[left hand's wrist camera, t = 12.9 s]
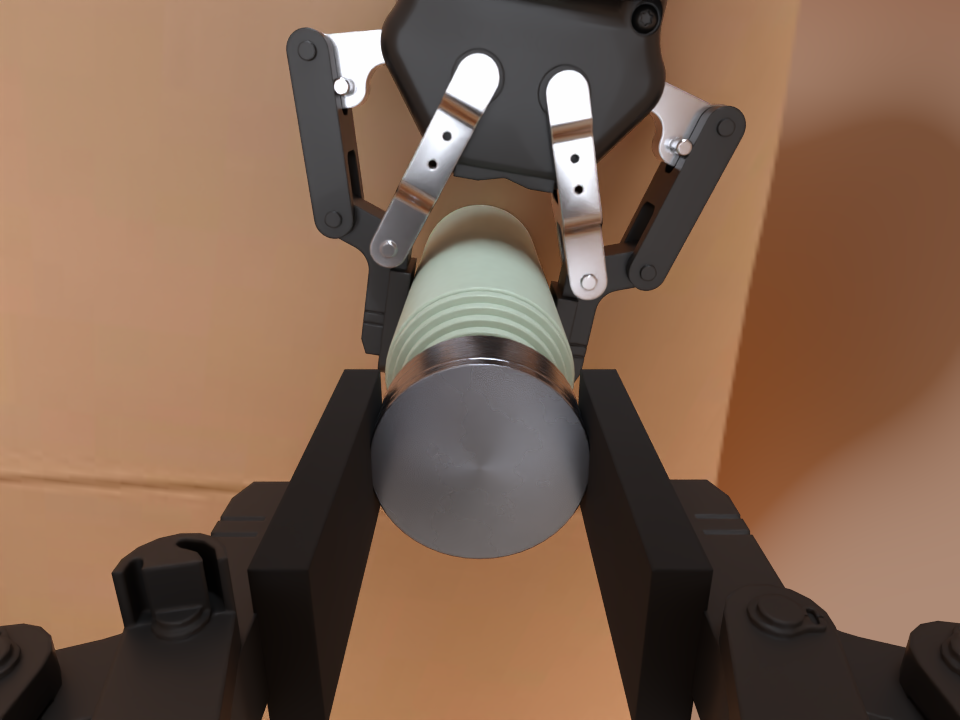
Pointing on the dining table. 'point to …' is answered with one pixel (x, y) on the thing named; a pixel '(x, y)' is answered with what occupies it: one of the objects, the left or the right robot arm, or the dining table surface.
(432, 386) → the cap
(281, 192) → the dining table surface
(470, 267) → the bottle
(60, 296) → the dining table surface
